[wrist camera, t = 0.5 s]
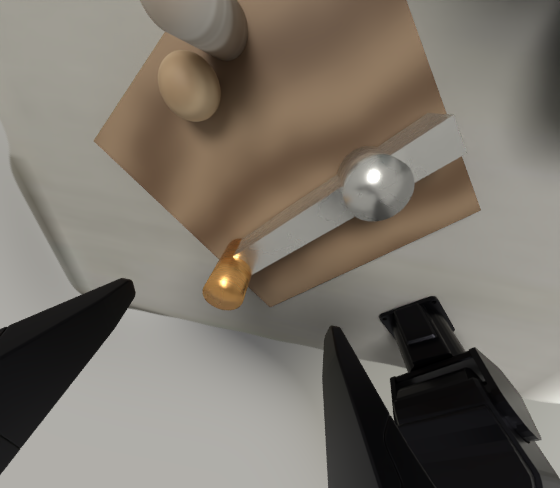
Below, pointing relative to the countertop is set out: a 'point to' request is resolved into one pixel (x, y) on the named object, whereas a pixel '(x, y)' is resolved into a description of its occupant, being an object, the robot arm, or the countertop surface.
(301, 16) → the board
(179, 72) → the dough ball
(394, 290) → the countertop surface
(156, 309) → the countertop surface
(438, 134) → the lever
